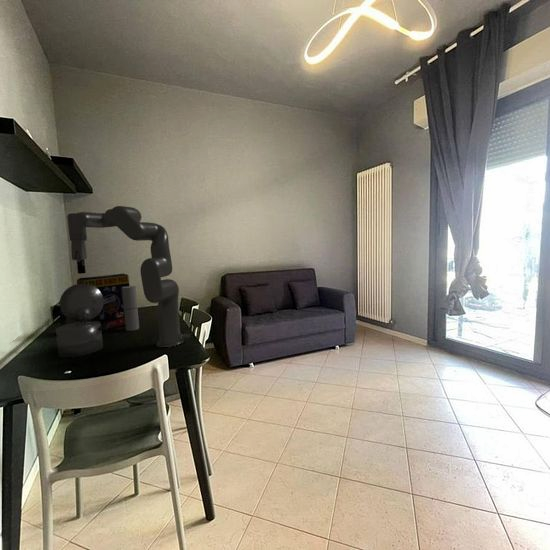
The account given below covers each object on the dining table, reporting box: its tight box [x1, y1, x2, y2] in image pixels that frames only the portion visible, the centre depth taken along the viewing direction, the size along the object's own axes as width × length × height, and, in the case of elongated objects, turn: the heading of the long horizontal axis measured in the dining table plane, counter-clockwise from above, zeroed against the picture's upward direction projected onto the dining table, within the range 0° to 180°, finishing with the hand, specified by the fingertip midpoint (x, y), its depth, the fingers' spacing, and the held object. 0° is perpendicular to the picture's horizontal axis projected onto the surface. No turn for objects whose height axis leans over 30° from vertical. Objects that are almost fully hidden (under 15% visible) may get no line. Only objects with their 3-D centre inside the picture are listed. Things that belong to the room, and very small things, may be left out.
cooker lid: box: [59, 283, 104, 322], centre depth 156 cm, size 19×19×3 cm
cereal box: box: [76, 273, 131, 332], centre depth 186 cm, size 27×11×32 cm, turn 142°
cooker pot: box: [46, 321, 109, 359], centre depth 146 cm, size 24×20×12 cm
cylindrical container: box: [122, 285, 140, 332], centre depth 180 cm, size 7×7×25 cm
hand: (81, 273), depth 160 cm, fingers closed
